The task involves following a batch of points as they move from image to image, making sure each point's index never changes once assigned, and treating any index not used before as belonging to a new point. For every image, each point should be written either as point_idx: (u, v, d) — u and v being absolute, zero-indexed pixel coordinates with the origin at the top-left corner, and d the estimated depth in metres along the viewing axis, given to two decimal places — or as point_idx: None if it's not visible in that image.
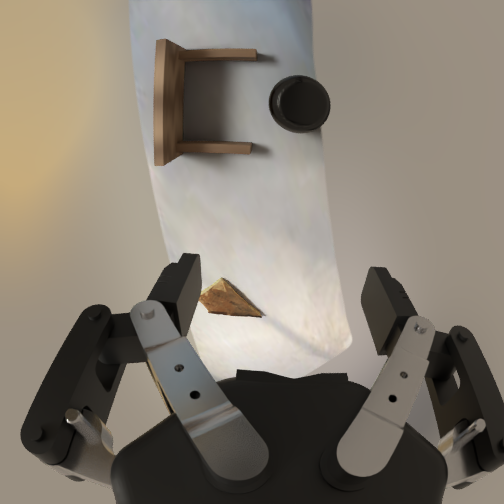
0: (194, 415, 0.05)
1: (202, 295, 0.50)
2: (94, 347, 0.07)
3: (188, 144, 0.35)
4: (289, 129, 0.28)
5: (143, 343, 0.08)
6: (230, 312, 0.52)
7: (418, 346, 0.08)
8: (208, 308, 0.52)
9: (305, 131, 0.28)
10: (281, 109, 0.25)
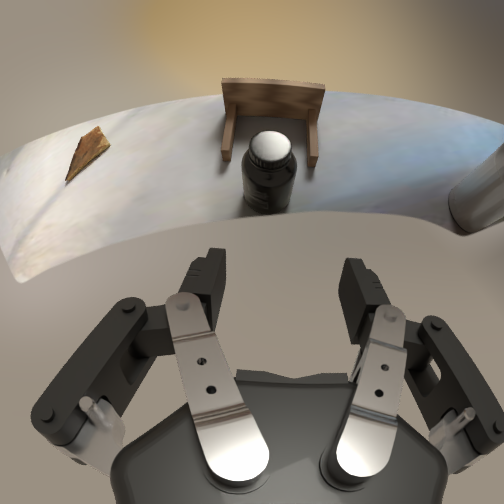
0: (205, 409, 0.05)
1: (98, 129, 0.45)
2: (122, 340, 0.08)
3: (234, 111, 0.42)
4: (245, 153, 0.33)
5: (172, 333, 0.08)
6: (76, 153, 0.44)
7: (392, 335, 0.08)
8: (85, 136, 0.45)
9: (243, 165, 0.33)
10: (264, 131, 0.30)
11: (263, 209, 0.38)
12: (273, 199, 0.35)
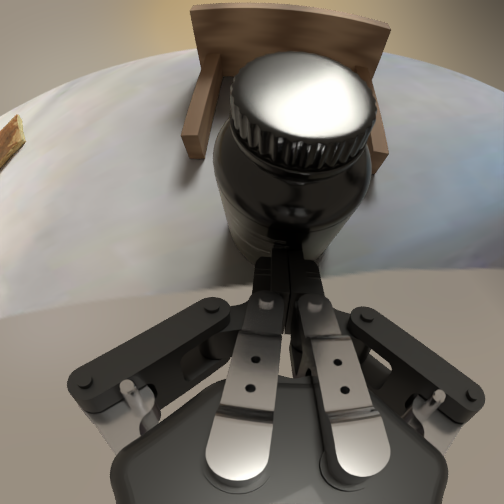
0: (235, 403, 0.06)
1: (16, 119, 0.22)
2: (191, 339, 0.08)
3: (214, 63, 0.20)
4: (224, 124, 0.11)
5: (244, 325, 0.09)
6: None
7: (325, 324, 0.09)
8: (1, 130, 0.22)
9: (217, 157, 0.11)
10: (281, 53, 0.08)
11: None
12: None
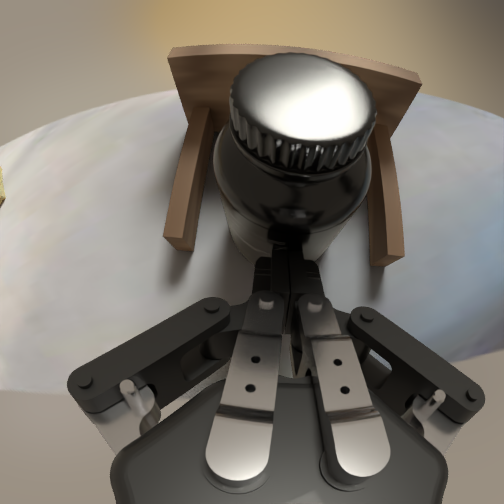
0: (235, 403, 0.06)
1: None
2: (191, 338, 0.08)
3: (202, 124, 0.18)
4: (224, 125, 0.11)
5: (244, 325, 0.09)
6: None
7: (325, 324, 0.09)
8: None
9: (217, 158, 0.11)
10: (281, 54, 0.08)
11: None
12: None
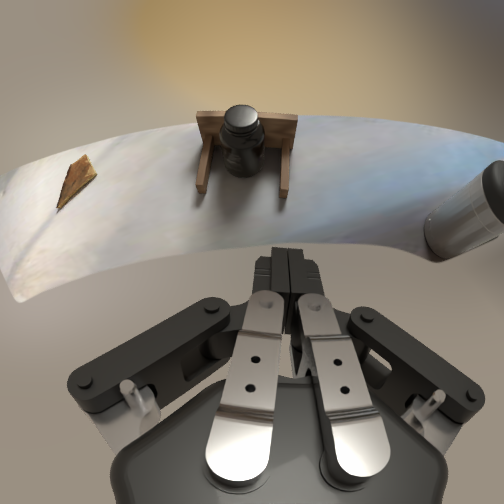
0: (235, 403, 0.06)
1: (86, 158, 0.48)
2: (191, 339, 0.08)
3: (209, 142, 0.45)
4: None
5: (244, 325, 0.09)
6: (66, 181, 0.47)
7: (325, 324, 0.09)
8: (74, 163, 0.48)
9: (220, 133, 0.39)
10: (236, 105, 0.36)
11: (238, 171, 0.44)
12: (245, 161, 0.41)
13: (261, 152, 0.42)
